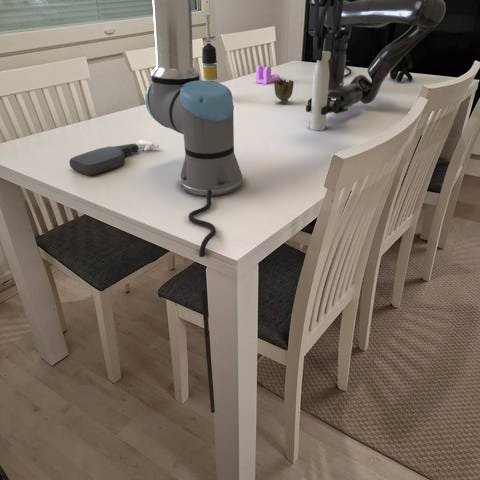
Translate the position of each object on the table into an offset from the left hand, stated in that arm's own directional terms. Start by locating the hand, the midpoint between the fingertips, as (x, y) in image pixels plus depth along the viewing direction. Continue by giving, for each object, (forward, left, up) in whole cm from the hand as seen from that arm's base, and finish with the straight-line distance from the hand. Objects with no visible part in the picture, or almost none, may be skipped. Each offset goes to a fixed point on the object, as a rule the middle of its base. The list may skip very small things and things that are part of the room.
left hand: (322, 58), depth 134 cm
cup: (+26, +18, -21) cm, 38 cm away
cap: (0, 0, +1) cm, 1 cm away
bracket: (+61, +34, -21) cm, 73 cm away
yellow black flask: (+24, +48, -21) cm, 58 cm away
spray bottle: (-44, +48, -21) cm, 68 cm away
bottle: (0, 0, -21) cm, 21 cm away
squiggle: (+77, -22, -21) cm, 83 cm away
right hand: (-3, +1, -15) cm, 15 cm away
